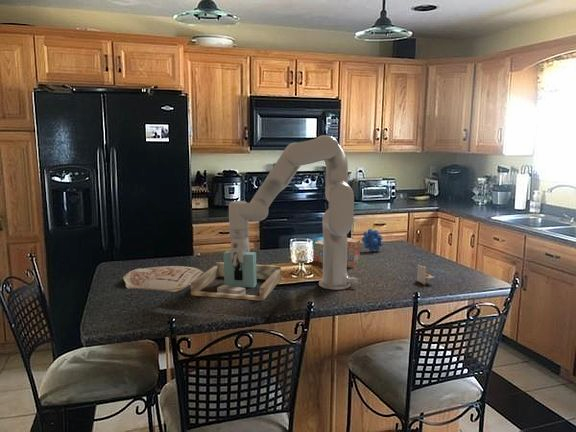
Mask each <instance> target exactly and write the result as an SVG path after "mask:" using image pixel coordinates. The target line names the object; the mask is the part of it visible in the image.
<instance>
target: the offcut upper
mask: <svg viewBox="0 0 576 432" xmlns="http://www.w3.org/2000/svg"><path fill="white" fill-rule="evenodd" d="M246 288H247V287H238V286H229V285H225V284H222V285H219V286H217V288H216V291H217V292H216V293H228V294H241V295H244V294H247V293H246V291H247V289H246Z"/></svg>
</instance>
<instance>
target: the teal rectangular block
mask: <svg viewBox="0 0 576 432" xmlns="http://www.w3.org/2000/svg"><path fill="white" fill-rule="evenodd" d="M233 259H234V258H233ZM223 262H224V277H223V278H224V279H223V280H224V284H223V285H229V286H235V287H242V288H255V287H256V286H257V285H258V282H257V280H258V279H257V276H256V264H257V251H256V252H255V251H250V252H247V253H246V254H245V262H244V263H242V269H241V270H242V274H243V280H235V279H234V267H233V263H232V262H231V250H226V251H225V252H223ZM237 262H239V261H237ZM237 265H239V264H237Z"/></svg>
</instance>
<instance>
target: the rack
mask: <svg viewBox="0 0 576 432" xmlns="http://www.w3.org/2000/svg"><path fill="white" fill-rule="evenodd" d="M256 276H257V280H262V281H263V280H265V281H264V282H263V283H262V284H261V285H260V286H259V295H254V294H252V295H250V294H248V295H241V294H228V293H217V292H212V291H211V292H210V291H202V290H203V289H204V288H206V287H207V286H209V285H210V284H211V283H212V282H214V281H215V280H216V279H217V278H218V277H223V278H224V261H223V262H222V261H216V262H214V265H213V266H212V267H211V268H209V269H208V270H207V271H205V272H204V273H202V274H201V275H199V276H198V277H197V279H195V280H194V281H192V282H191V285H190V296H196V297H197V296H199V297H200V296H201V297H212V298H221V299H222V298H225V299H236V300H237V299H238V300H239V299H240V300H251V301H261V302H263V301H265V299H266V298H267V297H268V296H269V295H270V293H271V292H272V291H273V290H274V289H275V287H276V286H277V285H278V283H280V282H281V281H282V266H281V265H272V264H257V263H256ZM280 280H281V281H280Z"/></svg>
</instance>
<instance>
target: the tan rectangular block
mask: <svg viewBox="0 0 576 432" xmlns="http://www.w3.org/2000/svg"><path fill="white" fill-rule="evenodd" d="M360 251H361V239H356V238H351V237H347V268H353V269H354V268H356V267H359V266H360V254H361V253H360ZM313 262H315V263H320V262H321V263H320V264H323V240H318V241H316V242H313Z"/></svg>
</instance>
